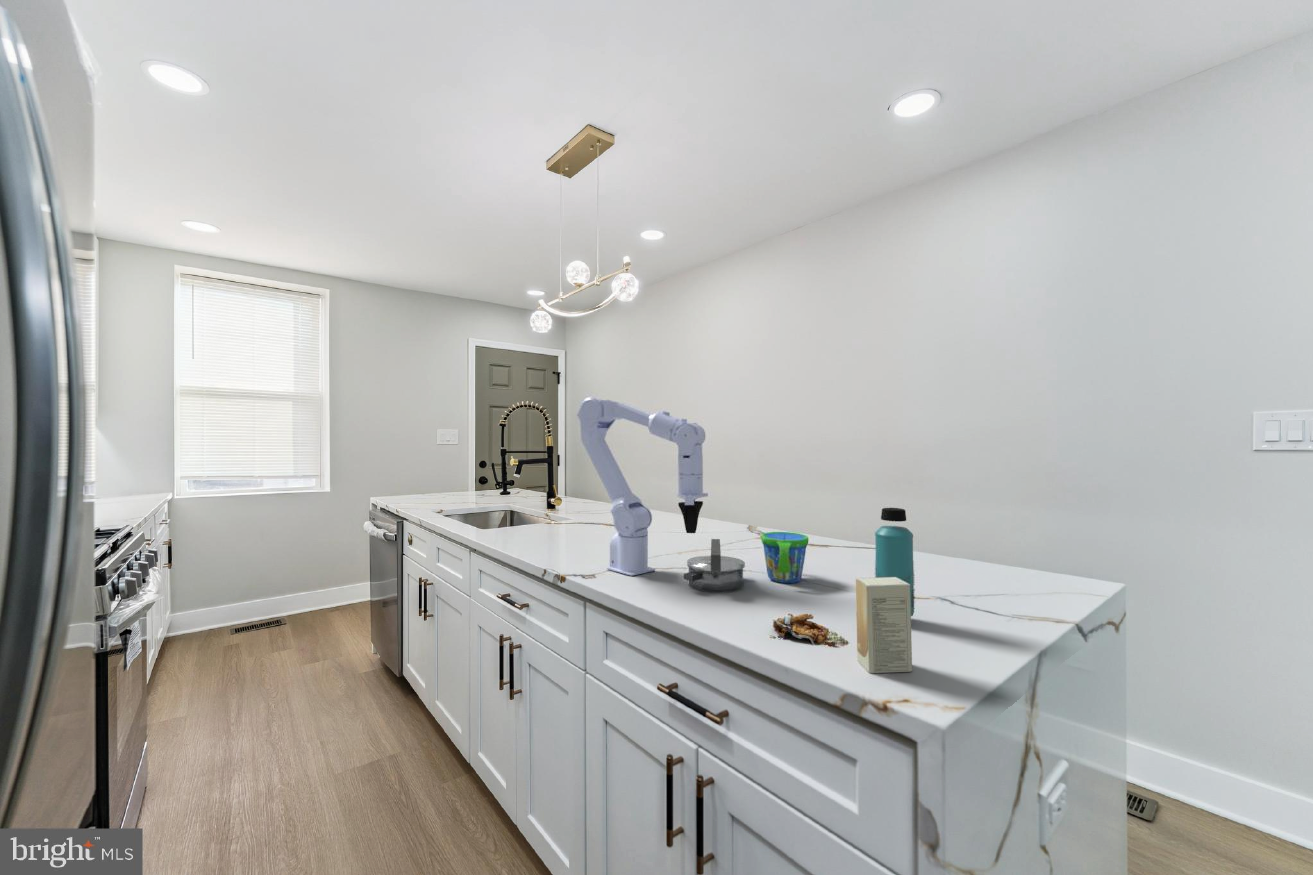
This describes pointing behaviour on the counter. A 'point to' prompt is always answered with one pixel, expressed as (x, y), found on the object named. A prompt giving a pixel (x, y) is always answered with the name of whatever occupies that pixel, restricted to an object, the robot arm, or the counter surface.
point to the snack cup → (784, 555)
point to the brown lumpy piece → (807, 630)
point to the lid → (715, 561)
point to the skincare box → (883, 624)
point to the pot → (715, 580)
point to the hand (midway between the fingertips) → (691, 532)
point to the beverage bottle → (895, 550)
